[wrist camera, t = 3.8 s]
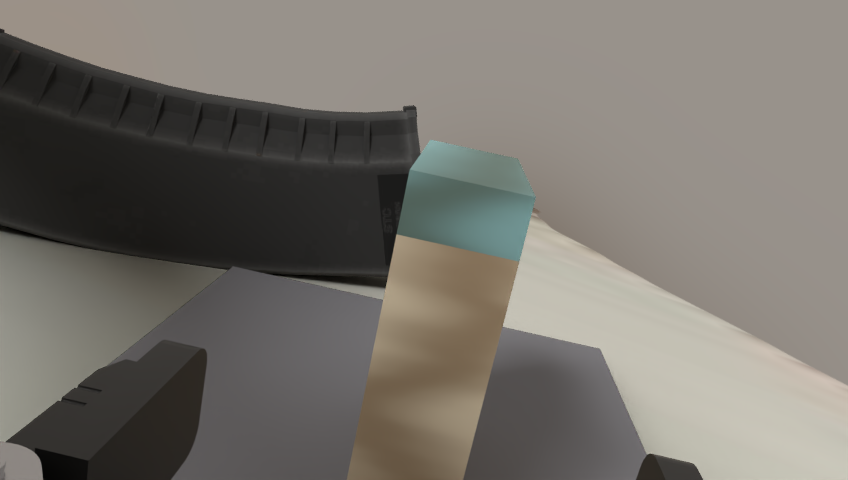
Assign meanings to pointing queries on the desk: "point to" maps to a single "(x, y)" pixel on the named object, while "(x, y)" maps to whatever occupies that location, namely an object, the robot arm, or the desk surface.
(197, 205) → the magazine
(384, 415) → the tile
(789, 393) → the desk surface
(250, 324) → the mat
